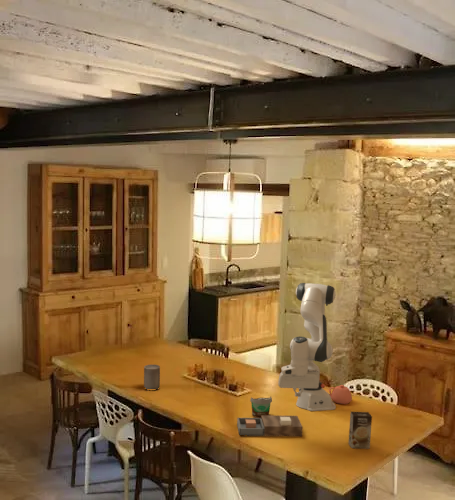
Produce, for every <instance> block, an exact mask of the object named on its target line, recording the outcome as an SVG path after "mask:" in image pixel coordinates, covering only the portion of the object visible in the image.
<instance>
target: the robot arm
mask: <svg viewBox="0 0 455 500" xmlns="http://www.w3.org/2000/svg"><path fill="white" fill-rule="evenodd" d="M336 295H337V294H336V289H335V287H334V286H332V285H329V284H328V285H326V284H323V283H322V284H321V283H311V282H310V283H309V282H300V283H299V284H297V287H296V289H295V296H296V299H297V300H298V301H300V302H301V304H300V308H299V309H300V315H301V318H303V319H304V320H303V321H304V322H303V328H304V329H305V330H306V332H308V333H309V334H310V336H311V338H309V337H305V336H301V335H300V336H295V337H293V338H292V339H291V341H290V343H289V349H290V357H291V360H290V363H289V364H288V365H284V366H282V367H281V372H280V373H279V377H278V382H277V383H278V387H279V388H281V389H292V390H293V392H294V397H297V400H296V403H295V405H296V406H297V407H299V408H300V409H303V410H304V409H305V410H307V411H310V412H312V411H313V412H317V411H319V412H320V411H331V410H334V411H335V410H336V407H337V406H336V403H335V402H334V401H333V400H332V399H331V396H330V392H328V391H326V390H325V386H326V385H325V384H324V383H323V382H321V381H320V375H321V374H320V372H321V370H320V367H319V366H318V365H317V364H316V363H315V362H318V363H323V362H325V361H328V360H329V359H331V358H332V356H333V353H334V348H333V345H332V344H331V342H329V340H328V326H327V325H328V323H327V318H326V313H325V311H326V307H327V306H328V305H331V304H333V303H334V300H336V299H335V298H336ZM314 361H315V362H314ZM297 389H298V391H297Z"/></svg>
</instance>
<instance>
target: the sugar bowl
mask: <svg viewBox="0 0 455 500" xmlns="http://www.w3.org/2000/svg"><path fill="white" fill-rule="evenodd" d="M328 390H329V392H328V393H329V394H330V396H331V399H332V402H333V403H334V404H343V405H347V404H349V403H351V402H352V400H353V396H352V395H353V394H352V393H351V391H350V388H348V387H347V386H345V384H340V385H338V386H337V385H336V386H335V387H333V386H332V387H329V389H328ZM331 391H332V392H331Z"/></svg>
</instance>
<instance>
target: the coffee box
mask: <svg viewBox="0 0 455 500" xmlns="http://www.w3.org/2000/svg"><path fill="white" fill-rule="evenodd" d="M372 421H373V416H372V415H371V413H370V412H369V411H350V417H349V431H348V445H349V447H350V448H352V449H370V448H371V437H372V436H371V435H372V434H371V433H372V423H373V422H372Z"/></svg>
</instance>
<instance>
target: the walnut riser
mask: <svg viewBox="0 0 455 500" xmlns="http://www.w3.org/2000/svg"><path fill="white" fill-rule="evenodd" d="M280 417H290V419H291V425H281V424H280ZM261 419H262V422H263V425H264V429H265V432H264V436H263V437H303V424H302V423H301V420H300V418H299V416H298V415H270V414H269V415H261Z"/></svg>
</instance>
